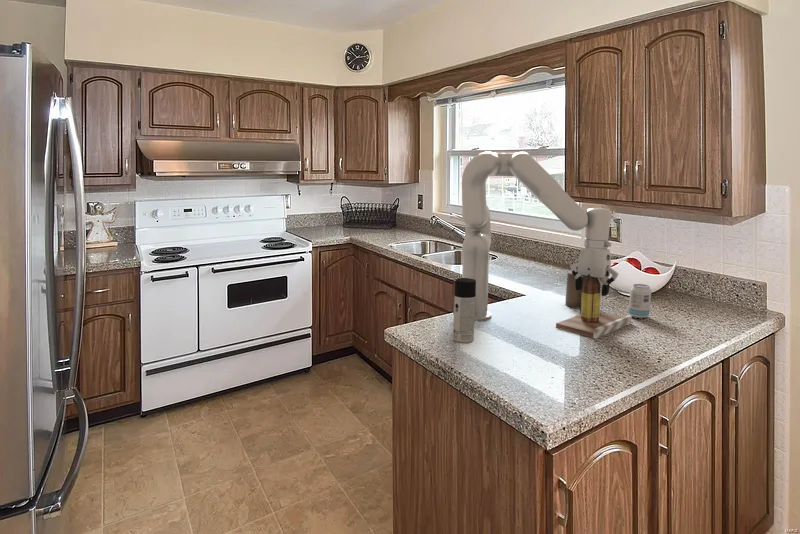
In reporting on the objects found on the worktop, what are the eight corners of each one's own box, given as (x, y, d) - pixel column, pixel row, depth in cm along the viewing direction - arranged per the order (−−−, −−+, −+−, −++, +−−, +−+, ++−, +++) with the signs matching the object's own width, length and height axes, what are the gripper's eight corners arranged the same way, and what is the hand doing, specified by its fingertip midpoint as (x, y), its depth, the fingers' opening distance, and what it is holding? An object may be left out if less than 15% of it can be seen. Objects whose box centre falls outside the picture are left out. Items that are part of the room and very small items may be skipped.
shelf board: (596, 338, 162) (596, 329, 162) (555, 327, 174) (556, 319, 173) (630, 323, 178) (631, 315, 177) (591, 314, 189) (592, 306, 188)
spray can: (459, 335, 166) (460, 276, 162) (477, 339, 162) (479, 279, 158) (449, 340, 160) (450, 280, 156) (468, 345, 157) (470, 283, 153)
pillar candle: (594, 308, 196) (597, 271, 193) (569, 308, 196) (571, 271, 193) (585, 302, 205) (588, 266, 203) (561, 302, 206) (564, 266, 203)
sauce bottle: (597, 318, 179) (601, 264, 175) (600, 323, 173) (605, 267, 169) (578, 317, 180) (582, 263, 176) (580, 322, 174) (585, 266, 170)
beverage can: (647, 315, 188) (650, 284, 185) (649, 320, 181) (653, 288, 179) (627, 313, 190) (630, 282, 187) (629, 318, 183) (632, 287, 181)
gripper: (625, 246, 167) (620, 296, 170) (578, 240, 180) (574, 286, 183) (614, 248, 162) (609, 299, 166) (567, 242, 175) (563, 289, 179)
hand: (591, 292), depth 175 cm, fingers open, 9 cm apart
